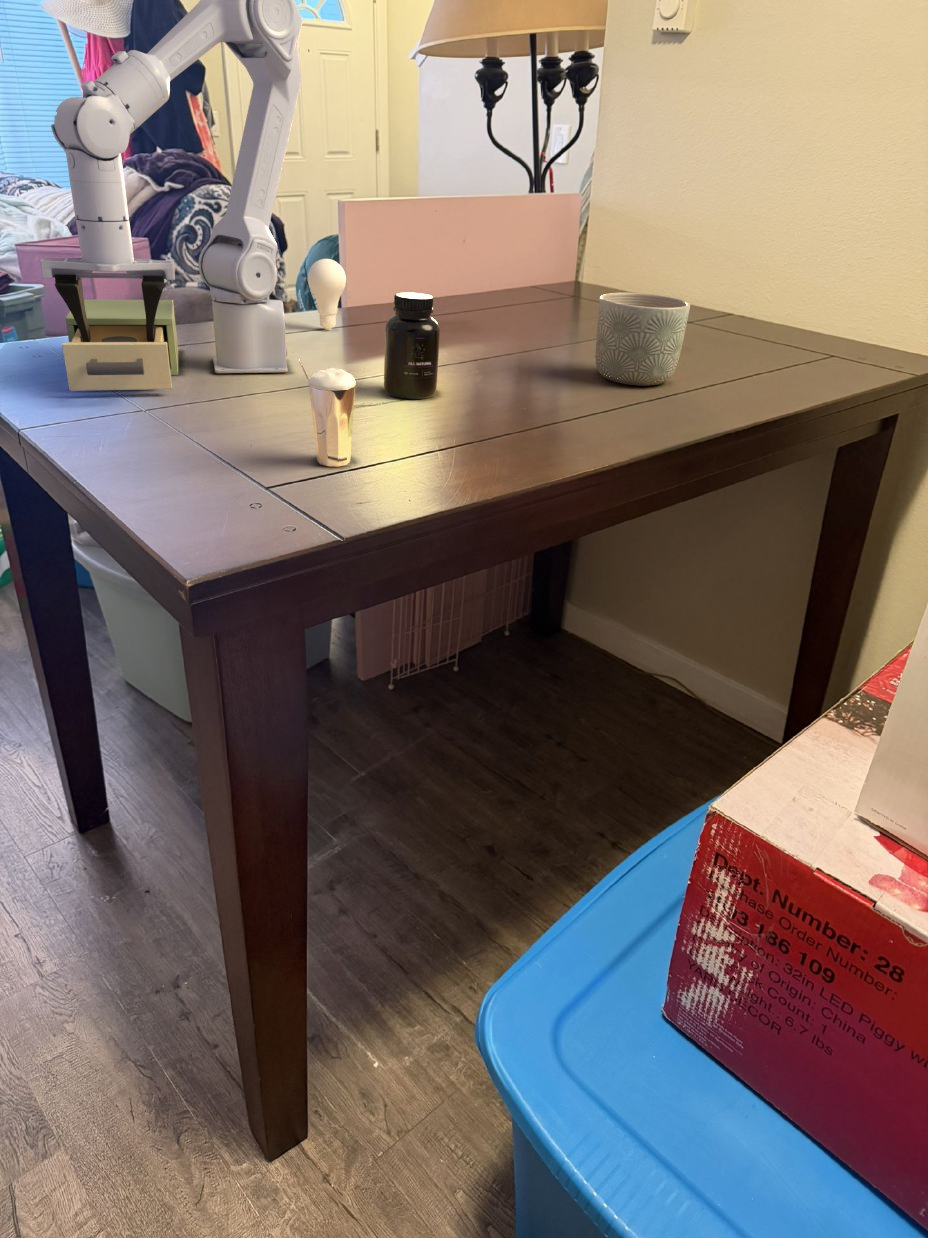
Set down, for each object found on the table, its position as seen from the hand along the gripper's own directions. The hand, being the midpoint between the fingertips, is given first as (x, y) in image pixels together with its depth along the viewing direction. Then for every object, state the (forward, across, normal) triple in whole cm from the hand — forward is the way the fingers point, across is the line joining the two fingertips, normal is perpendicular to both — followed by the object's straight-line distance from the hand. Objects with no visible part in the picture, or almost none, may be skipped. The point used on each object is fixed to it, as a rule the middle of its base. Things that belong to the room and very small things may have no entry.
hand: (119, 341), depth 106 cm
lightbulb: (+6, +30, +34) cm, 45 cm away
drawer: (+4, 0, -2) cm, 5 cm away
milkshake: (+5, +21, -32) cm, 38 cm away
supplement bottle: (+6, +35, -6) cm, 36 cm away
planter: (+6, +69, -2) cm, 69 cm away
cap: (+3, 0, 0) cm, 3 cm away
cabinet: (+5, 0, +12) cm, 13 cm away
